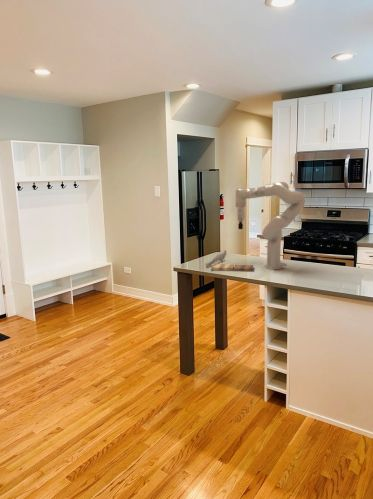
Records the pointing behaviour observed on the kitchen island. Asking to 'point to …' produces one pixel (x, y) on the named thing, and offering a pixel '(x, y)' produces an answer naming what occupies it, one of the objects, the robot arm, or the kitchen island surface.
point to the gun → (217, 259)
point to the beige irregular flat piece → (223, 267)
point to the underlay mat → (233, 270)
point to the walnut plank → (243, 268)
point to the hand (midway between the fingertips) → (240, 228)
